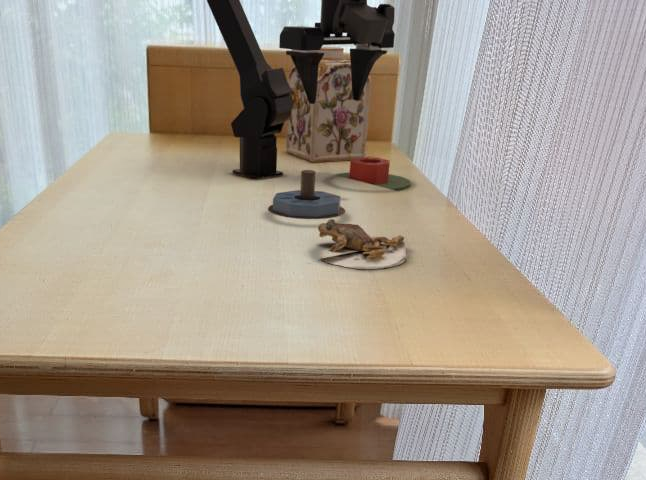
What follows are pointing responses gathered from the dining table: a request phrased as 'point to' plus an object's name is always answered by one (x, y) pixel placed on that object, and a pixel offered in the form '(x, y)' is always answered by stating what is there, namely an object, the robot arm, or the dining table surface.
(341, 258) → the frog figurine
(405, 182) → the mat
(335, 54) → the decorative jar
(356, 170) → the top ring
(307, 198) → the stacker
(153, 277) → the dining table surface
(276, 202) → the bottom ring
